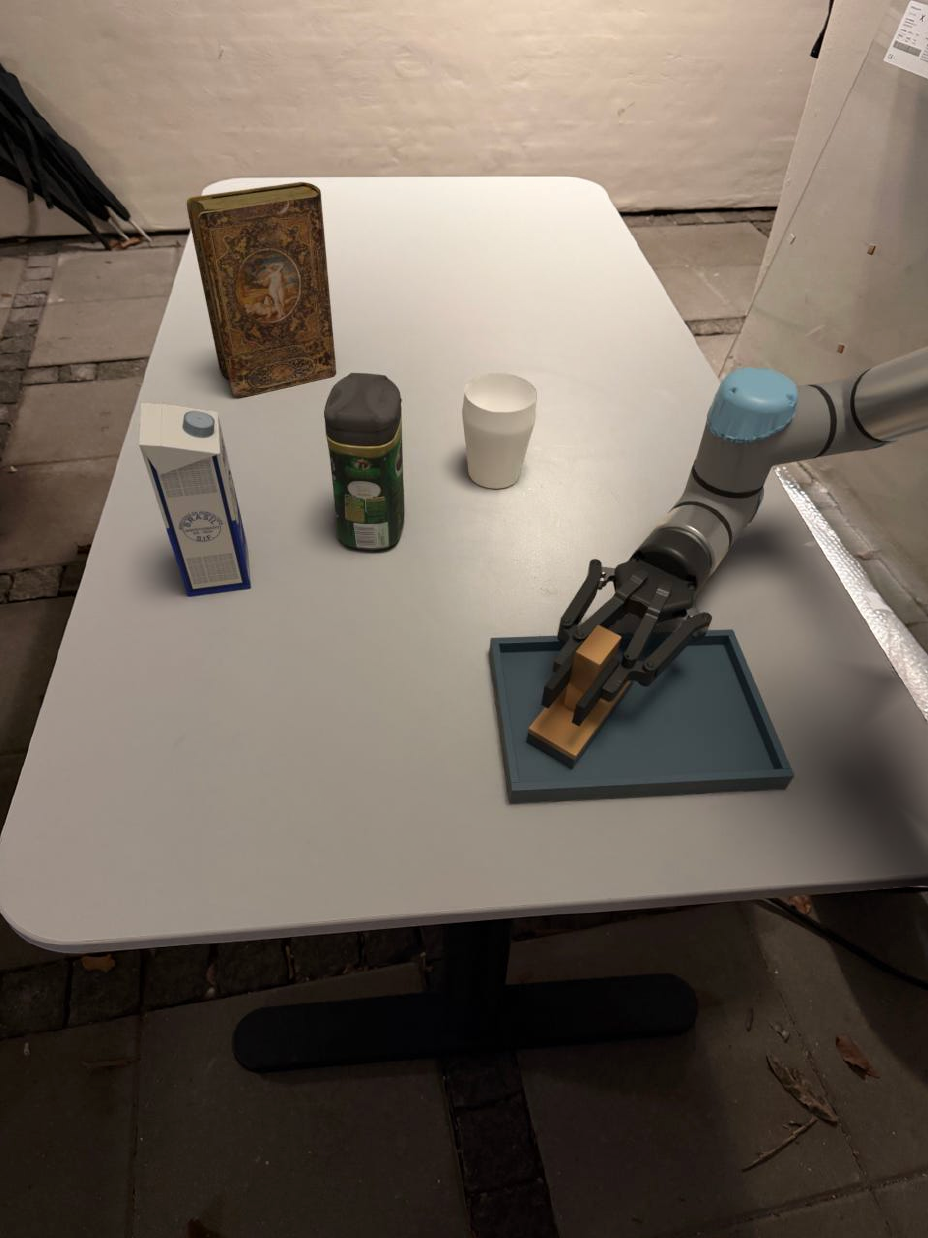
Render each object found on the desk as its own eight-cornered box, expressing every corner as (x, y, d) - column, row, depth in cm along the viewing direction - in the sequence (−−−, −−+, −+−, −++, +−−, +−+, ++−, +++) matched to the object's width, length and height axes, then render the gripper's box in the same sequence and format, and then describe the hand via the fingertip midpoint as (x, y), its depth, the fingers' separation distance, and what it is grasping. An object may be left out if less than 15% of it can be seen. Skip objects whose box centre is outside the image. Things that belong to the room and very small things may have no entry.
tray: (786, 789, 71) (795, 775, 69) (509, 804, 69) (511, 790, 67) (726, 643, 83) (733, 629, 81) (489, 652, 81) (490, 637, 79)
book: (327, 357, 119) (310, 180, 101) (341, 374, 116) (326, 194, 97) (222, 381, 113) (183, 197, 95) (233, 399, 110) (196, 213, 92)
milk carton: (187, 554, 88) (140, 399, 74) (247, 546, 90) (213, 393, 75) (187, 597, 84) (137, 442, 69) (251, 589, 85) (215, 435, 70)
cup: (538, 465, 103) (549, 383, 94) (512, 503, 97) (521, 421, 88) (476, 446, 105) (481, 365, 96) (447, 482, 99) (450, 400, 91)
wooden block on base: (632, 686, 77) (655, 616, 70) (572, 769, 70) (590, 702, 63) (588, 662, 79) (606, 592, 71) (525, 741, 72) (538, 673, 65)
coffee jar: (345, 499, 96) (332, 362, 83) (408, 503, 96) (406, 367, 82) (330, 551, 90) (314, 412, 76) (398, 556, 90) (394, 418, 76)
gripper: (737, 616, 80) (633, 776, 66) (604, 553, 85) (484, 689, 72) (761, 563, 74) (653, 726, 61) (617, 499, 80) (490, 636, 66)
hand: (562, 706), depth 66 cm, fingers closed on wooden block on base, 2 cm apart
